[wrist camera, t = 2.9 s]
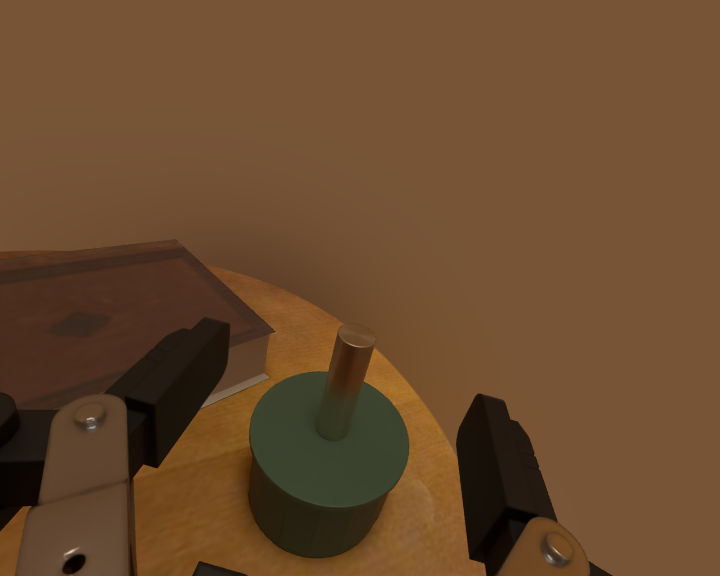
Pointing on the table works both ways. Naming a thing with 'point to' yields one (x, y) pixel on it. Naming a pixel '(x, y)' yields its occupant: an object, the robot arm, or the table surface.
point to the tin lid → (331, 432)
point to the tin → (307, 521)
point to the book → (112, 320)
